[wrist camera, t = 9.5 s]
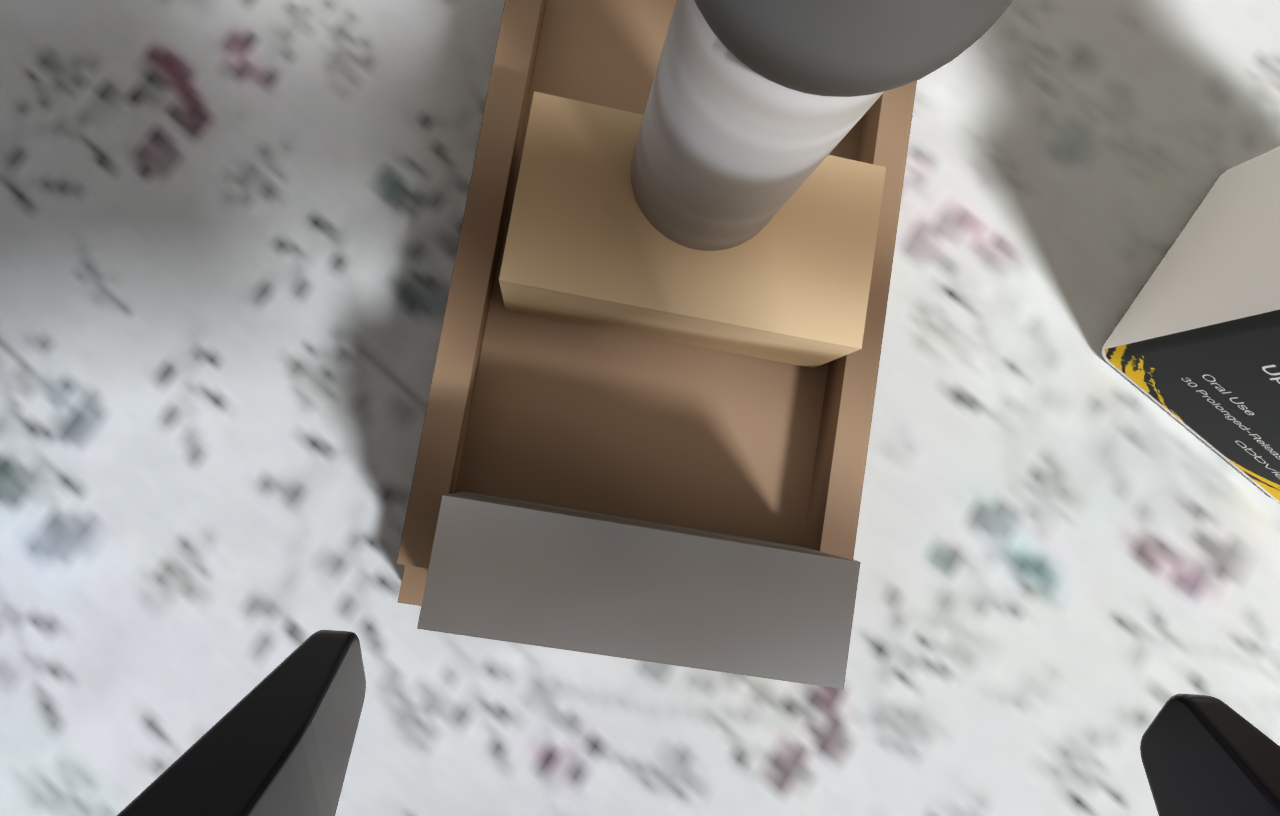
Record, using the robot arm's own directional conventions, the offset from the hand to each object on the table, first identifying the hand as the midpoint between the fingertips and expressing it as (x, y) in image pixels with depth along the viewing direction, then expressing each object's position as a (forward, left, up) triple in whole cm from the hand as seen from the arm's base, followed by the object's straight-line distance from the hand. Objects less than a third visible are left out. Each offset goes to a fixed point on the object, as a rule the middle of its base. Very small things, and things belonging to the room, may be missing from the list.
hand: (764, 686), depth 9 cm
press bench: (+4, +6, -12) cm, 14 cm away
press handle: (+5, +7, -10) cm, 13 cm away
